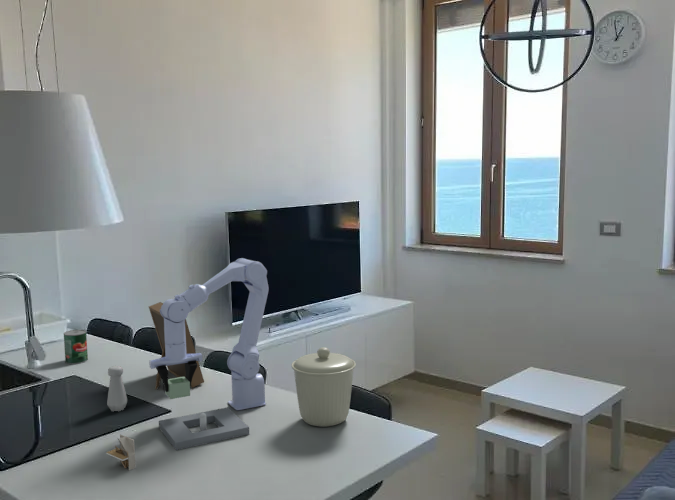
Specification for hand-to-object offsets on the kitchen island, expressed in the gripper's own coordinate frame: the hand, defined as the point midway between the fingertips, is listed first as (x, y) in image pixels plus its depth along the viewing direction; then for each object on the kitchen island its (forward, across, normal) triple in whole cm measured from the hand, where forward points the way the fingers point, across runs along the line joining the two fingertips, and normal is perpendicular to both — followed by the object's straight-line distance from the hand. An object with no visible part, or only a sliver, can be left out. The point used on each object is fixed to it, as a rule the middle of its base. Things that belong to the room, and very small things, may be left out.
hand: (177, 389), depth 191 cm
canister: (+10, -36, +20) cm, 42 cm away
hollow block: (+2, 0, 0) cm, 2 cm away
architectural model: (+10, +19, +22) cm, 31 cm away
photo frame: (+10, -7, -36) cm, 38 cm away
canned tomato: (+10, +17, -77) cm, 80 cm away
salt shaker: (+10, +14, -18) cm, 25 cm away
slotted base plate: (+9, -4, +11) cm, 15 cm away
